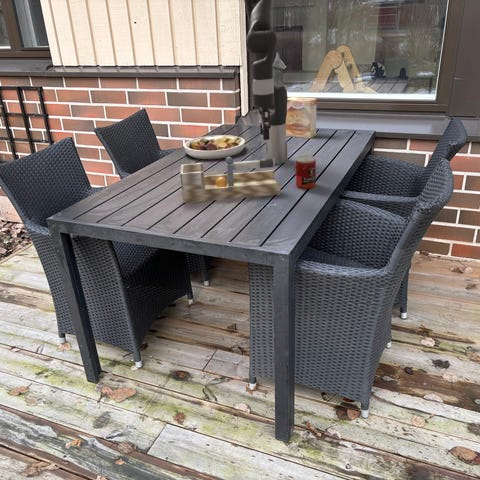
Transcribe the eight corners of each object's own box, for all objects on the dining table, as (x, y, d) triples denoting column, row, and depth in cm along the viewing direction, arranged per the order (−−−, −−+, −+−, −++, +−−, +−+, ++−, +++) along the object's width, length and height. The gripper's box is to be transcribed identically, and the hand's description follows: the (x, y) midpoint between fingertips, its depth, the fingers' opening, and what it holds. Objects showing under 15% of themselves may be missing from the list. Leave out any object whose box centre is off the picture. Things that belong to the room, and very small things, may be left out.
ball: (227, 186, 187) (226, 175, 185) (227, 189, 183) (227, 178, 181) (215, 187, 186) (215, 176, 185) (216, 190, 183) (215, 179, 181)
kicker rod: (273, 179, 187) (272, 151, 182) (275, 183, 183) (274, 155, 178) (227, 183, 186) (224, 155, 181) (227, 187, 182) (225, 159, 177)
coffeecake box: (285, 136, 258) (284, 99, 250) (291, 133, 263) (291, 96, 255) (310, 138, 250) (310, 100, 242) (316, 135, 255) (316, 98, 247)
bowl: (189, 146, 253) (187, 131, 249) (245, 143, 251) (245, 128, 248) (181, 162, 226) (179, 146, 222) (244, 159, 224) (243, 143, 221)
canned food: (303, 190, 181) (303, 162, 176) (291, 185, 188) (291, 157, 183) (319, 186, 184) (320, 158, 180) (307, 181, 191) (307, 154, 186)
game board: (274, 180, 194) (273, 155, 189) (280, 194, 179) (279, 167, 175) (184, 188, 192) (181, 163, 187) (183, 202, 177) (180, 175, 173)
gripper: (276, 94, 164) (277, 140, 171) (270, 88, 177) (272, 132, 184) (255, 95, 164) (257, 142, 171) (250, 89, 177) (252, 133, 184)
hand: (264, 137), depth 177 cm, fingers open, 8 cm apart
